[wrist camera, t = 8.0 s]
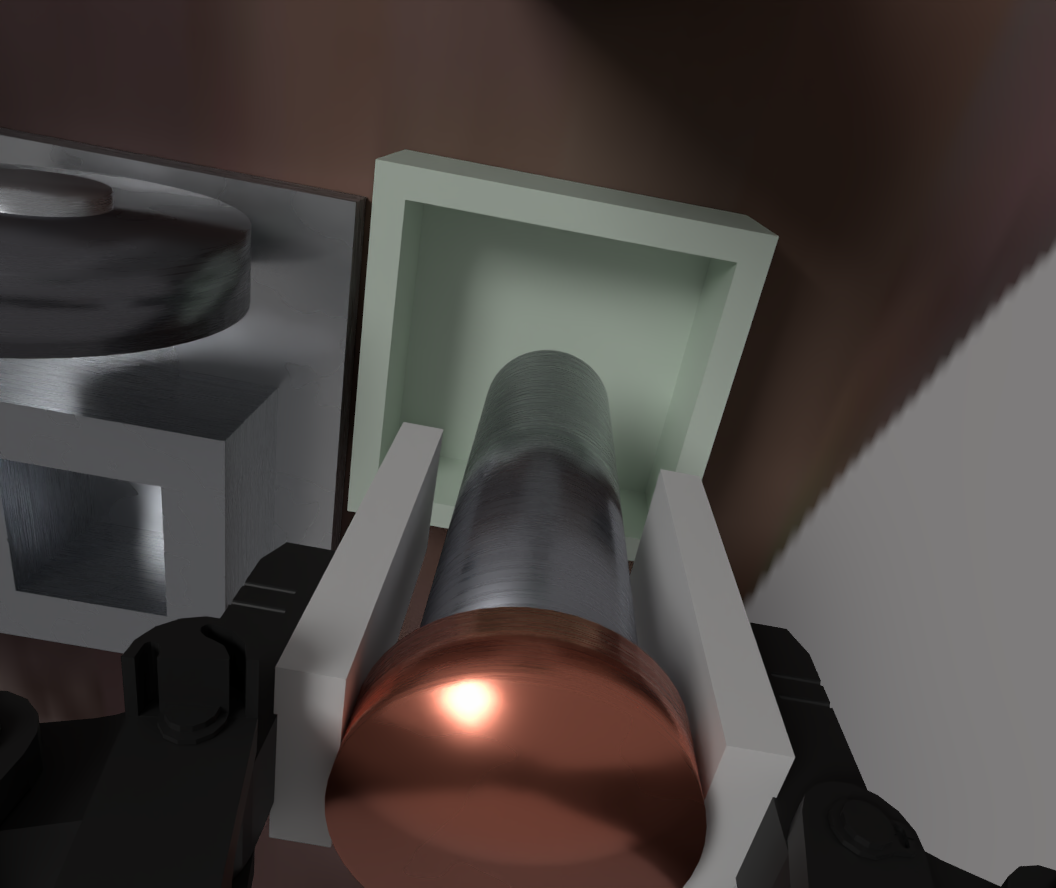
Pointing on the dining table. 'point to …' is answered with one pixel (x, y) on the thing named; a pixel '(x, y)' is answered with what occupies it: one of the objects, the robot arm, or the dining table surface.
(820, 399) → the dining table surface
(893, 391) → the dining table surface
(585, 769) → the pin
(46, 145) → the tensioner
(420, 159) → the tray
